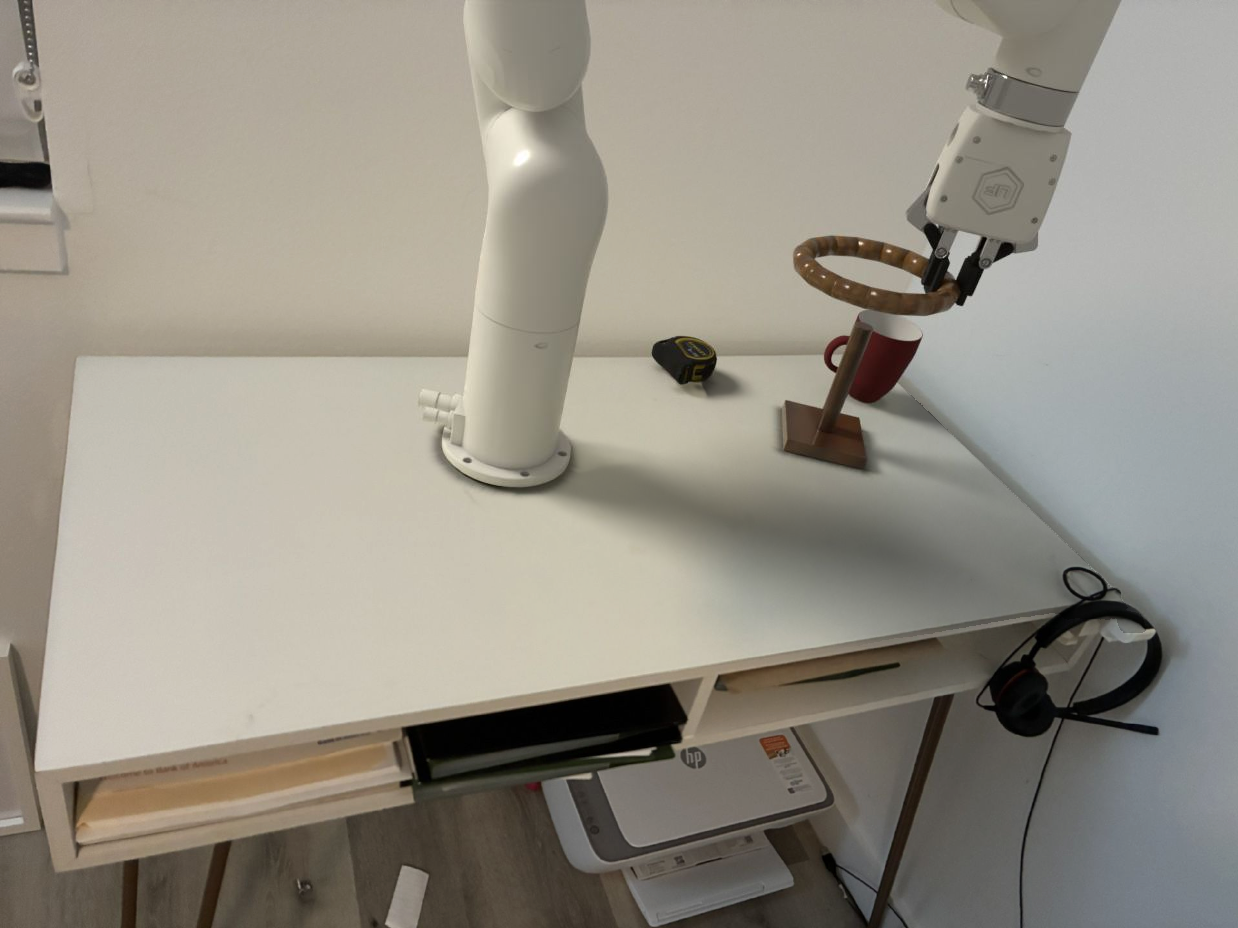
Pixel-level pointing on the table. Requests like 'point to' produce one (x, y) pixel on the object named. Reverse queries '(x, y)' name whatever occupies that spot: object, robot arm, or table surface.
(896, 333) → the mug
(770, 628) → the table surface
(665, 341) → the tape measure
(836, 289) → the ring
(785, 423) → the post
